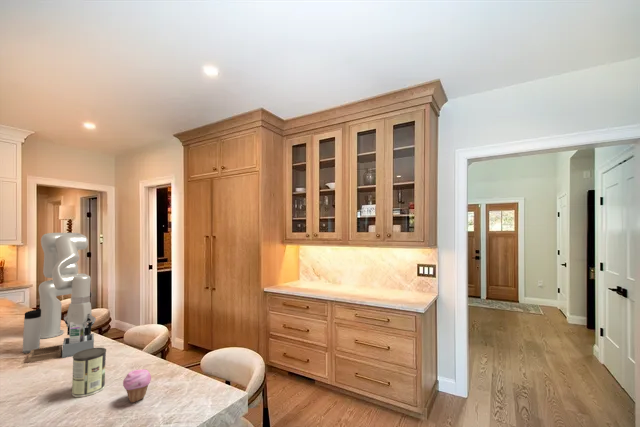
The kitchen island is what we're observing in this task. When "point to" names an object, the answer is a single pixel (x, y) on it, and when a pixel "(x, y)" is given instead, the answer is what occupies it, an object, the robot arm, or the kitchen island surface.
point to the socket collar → (45, 356)
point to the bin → (77, 346)
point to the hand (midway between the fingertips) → (79, 334)
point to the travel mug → (31, 330)
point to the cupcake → (137, 384)
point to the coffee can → (88, 372)
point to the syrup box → (77, 333)
